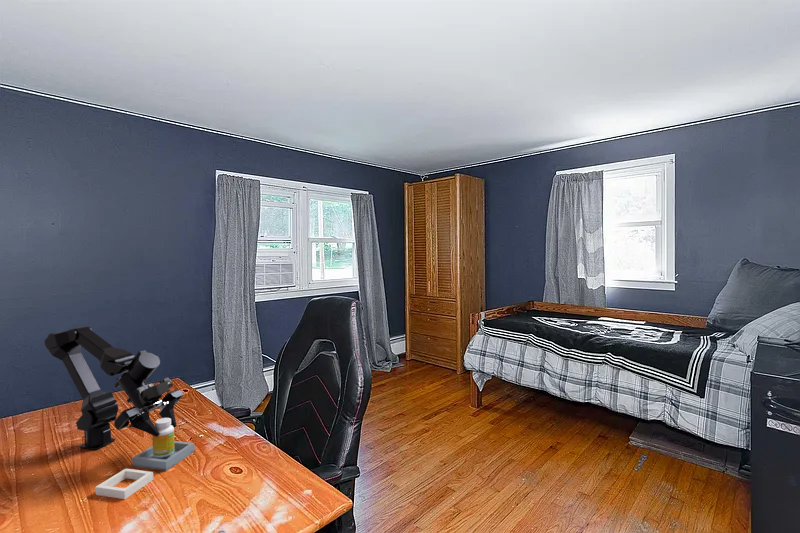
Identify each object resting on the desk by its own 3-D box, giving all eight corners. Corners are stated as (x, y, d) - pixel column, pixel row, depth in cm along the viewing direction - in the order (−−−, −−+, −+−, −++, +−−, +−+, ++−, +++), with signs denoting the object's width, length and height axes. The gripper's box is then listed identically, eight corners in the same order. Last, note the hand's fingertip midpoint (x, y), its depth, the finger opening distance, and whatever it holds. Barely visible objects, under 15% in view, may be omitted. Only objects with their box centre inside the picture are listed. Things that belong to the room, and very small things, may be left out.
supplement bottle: (171, 456, 116) (170, 423, 115) (150, 459, 114) (149, 425, 114) (177, 447, 121) (176, 415, 120) (156, 449, 120) (156, 417, 119)
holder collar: (95, 494, 100) (95, 486, 100) (126, 475, 109) (125, 468, 109) (124, 499, 99) (124, 491, 98) (153, 479, 107) (153, 472, 107)
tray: (132, 466, 113) (132, 457, 113) (163, 447, 124) (163, 439, 124) (166, 471, 111) (166, 462, 111) (194, 451, 122) (194, 443, 122)
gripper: (120, 382, 109) (152, 428, 106) (178, 363, 126) (207, 402, 124) (100, 407, 112) (131, 453, 109) (159, 385, 129) (187, 424, 126)
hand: (167, 431), depth 117 cm, fingers closed on supplement bottle, 5 cm apart
